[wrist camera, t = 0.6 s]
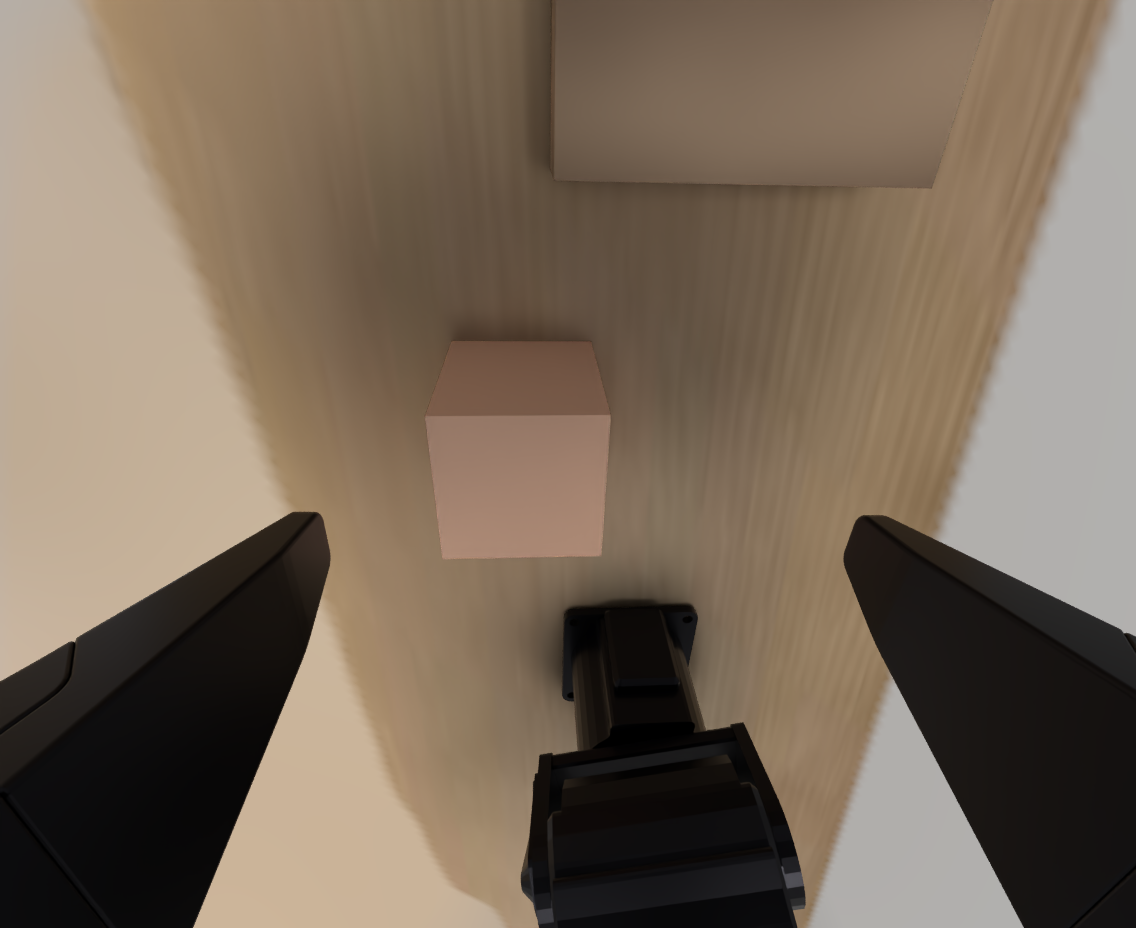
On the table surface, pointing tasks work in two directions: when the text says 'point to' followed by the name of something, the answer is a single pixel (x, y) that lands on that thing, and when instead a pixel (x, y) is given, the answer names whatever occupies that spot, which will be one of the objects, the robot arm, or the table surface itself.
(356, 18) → the table surface
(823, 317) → the table surface
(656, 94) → the block
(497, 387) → the terracotta block
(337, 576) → the table surface
